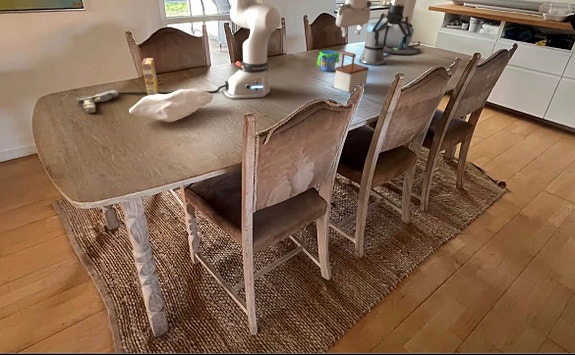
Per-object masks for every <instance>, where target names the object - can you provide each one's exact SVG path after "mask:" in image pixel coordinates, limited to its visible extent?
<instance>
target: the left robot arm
mask: <svg viewBox="0 0 575 355" xmlns="http://www.w3.org/2000/svg"><path fill="white" fill-rule="evenodd" d="M372 3H373V2H372V1H371V0H344V3H342V4H341V5H340V6H339V7H338V10H337V14H336V18H335V26H336V27H338V28H340V30H341V37H343V38H346V37H348V32H347V28H348V27H352V26H353V27H354V26H357V27H356V29H355V32H354V34H355V35H360V34H361V31H362V28H363V27H364V25H366V24H369V21H370V17H371V7H372V6H373V4H372ZM229 16H230V20H231V21H232V22H233V24H235V25H237V26H238V27H240V28H243V29H249V32H250V33H249V35H248V38H247V39H246V40H244V42H243V43H242V59H243V60H242V61H236V62H235V65H236V66H237V67H239V69H237V71H236V72H235V73H234V74H232V75H231V76H230V77H229V78H228V80H225V81H224V84H223V85H220V86H218V88H217V89H215V90H205V91H206V92H208V93H210V94H216V93H218V92H220V90H221V89H223V91H222V92H223V94H224V95H225V96H226V97H228V98H230V99H233V100H236V99H237V100H238V99H239V100H240V99H253V98H254V99H255V98H264V97H266V95H268V94H269V93H270V92H271V88H270V84H269V78H268V76H269V75H268V72H269V61H268V47H269V46H268V45H269V40H270V38H271V36H272V34H273V33H274V32H275V31H276V30H277V29H279V26H280V23H281V15H280V12H279V10H278V9H277V8H276V7H273V6H272V5H269V4H266V3H260V2H258V1H257V0H234V2H233V3H232V5H231V7H230V10H229ZM117 92H118V91H117ZM173 92H174V91H159V92H158V94H164V95H167V94H171V93H173ZM118 94H119V95H148V93H147V91H120V92H118Z"/></svg>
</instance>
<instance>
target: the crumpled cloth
mask: <svg viewBox="0 0 575 355" xmlns="http://www.w3.org/2000/svg"><path fill="white" fill-rule="evenodd" d="M206 91H207V90H203V89H201V88H187V89H186V88H185V89H184V88H183V89H177V90H175V91H172V92H173V93H171V94H156V95H150V96H148V95H146V96H144V97H142V98H141V99H140V100H139V101H138V102H137V103H136V104H134V105H133V106H132V107H131V108H129V114H130V115H135V116H140V117H145V118H146V119H149V120H152V121H155V120H158V121H163V122H166V123H174V122H176V121H178V120H181V119H183V118H185V117H188V116H190V115H192V114H193V113H195V112H196V111H197V110H199V109H200V108H202V107H204V106H206V105H207V104H210V102H211V101H212V100H213V99H214V98H213V97H214V96H213V93H208V92H206Z"/></svg>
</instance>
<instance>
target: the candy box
mask: <svg viewBox="0 0 575 355" xmlns="http://www.w3.org/2000/svg"><path fill="white" fill-rule="evenodd" d="M141 66H142V73H143V78H144V82H145V87H146V92H147V93H148V94H147V96H150V95H156V94H158V92H160V90H159V84H158V79H157V73H156V66H155V62H154V58H153V57H151V58H150V57H149V58H146V57H145V58H143V60H142V63H141Z"/></svg>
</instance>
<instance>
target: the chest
mask: <svg viewBox="0 0 575 355" xmlns="http://www.w3.org/2000/svg"><path fill="white" fill-rule="evenodd" d="M368 73H369V69H368V70H364V71H361V72H357V73H353V74H350V75H349V74H346V73H343V72H340V71H337V70H335V75H334V83H333V88H334V89H338V90H339V91H343V92H346V93H351V92H355V91H354V89H355V85H356V84H358V83H363V84H364V88H366V87H367V86H366V85H367V79H368Z"/></svg>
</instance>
